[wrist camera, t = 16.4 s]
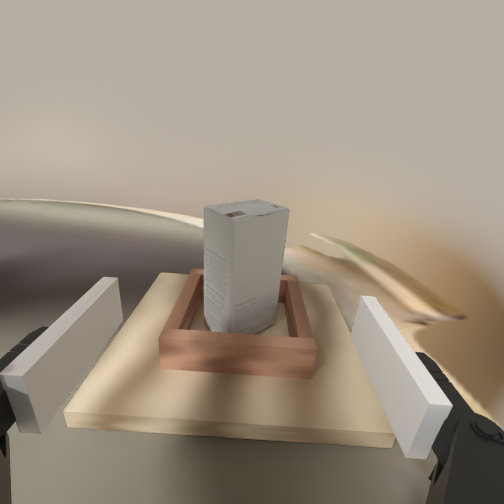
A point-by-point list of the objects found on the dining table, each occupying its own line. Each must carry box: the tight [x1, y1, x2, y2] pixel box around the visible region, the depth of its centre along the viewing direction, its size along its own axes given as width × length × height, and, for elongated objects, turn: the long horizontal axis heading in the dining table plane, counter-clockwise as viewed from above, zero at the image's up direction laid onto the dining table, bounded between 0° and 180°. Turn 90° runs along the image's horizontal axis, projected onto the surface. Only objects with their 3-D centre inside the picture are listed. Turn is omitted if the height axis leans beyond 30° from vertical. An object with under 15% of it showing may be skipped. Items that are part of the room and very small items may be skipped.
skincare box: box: [204, 200, 289, 334], centre depth 25 cm, size 6×4×12 cm
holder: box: [63, 268, 396, 448], centre depth 27 cm, size 22×20×4 cm
